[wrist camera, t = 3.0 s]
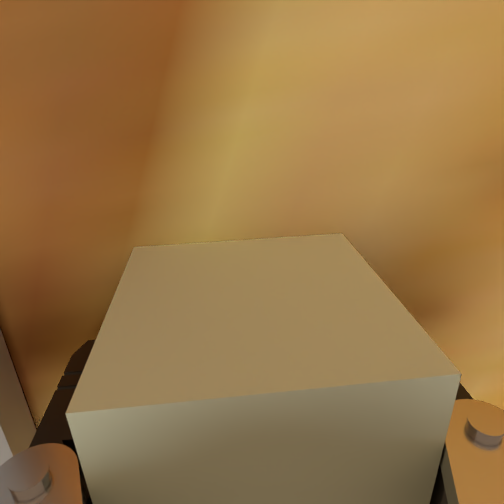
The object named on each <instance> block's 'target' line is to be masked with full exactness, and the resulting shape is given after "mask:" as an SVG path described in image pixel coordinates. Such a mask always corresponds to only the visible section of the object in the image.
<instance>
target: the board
mask: <svg viewBox="0 0 504 504" xmlns="http://www.w3.org/2000/svg"><path fill="white" fill-rule="evenodd" d="M35 433H36V428H35V425H34V422H33V419H32V416H31V414H30V411H29V408H28V405H27V402H26V400H25V397H24V394H23V391H22V388H21V385H20V383H19V380H18V377H17V374H16V371H15V369H14V366H13V363H12V360H11V357H10V355H9V352H8V349H7V346H6V343H5V340H4V338H3V335H2V332H1V329H0V466H1V465H2V464H3V463H5V462H6V461H7V460H8V459H10V458H11V457H13V456H14V455H16V454H18V453H20V452H21V451H23V450H26V449H28V448H29V446H30V444H31V442H32V440H33V437H34V435H35Z"/></svg>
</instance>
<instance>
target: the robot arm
mask: <svg viewBox="0 0 504 504" xmlns="http://www.w3.org/2000/svg"><path fill="white" fill-rule="evenodd" d="M94 343H95V340H88V341H87V342H86V343H85V344H84V345H82V346H81V347H80V348H79V349H78V350H77V351H76V352H75V353H74V354H73V355H72V357H71V359H70V361H69V363H68V365H67V367H66V369H65V372H64V376H62V378H61V380H60V382H59V384H58V386H57V387H58V389H57V390H56V391H55V393H54V395H53V397H52V399H51V401H50V403H49V406H48V408H47V410H46V412H45V414H44V416H43V418H42V420H41V423H40V425H39V427H38V429H37V431H36V433H35V435H34V437H33V440H32V442H31V444H30V446H29V448H28V449H26V450H23V451H21V452H20V453H18V454H16V455H14V456H13V457H11V458H10V459H8V460H7V461H6V462H5V463H3V464H2V465H1V466H0V504H93V503H92V500H91V497H90V493H89V490H88V487H87V483H86V480H85V477H84V473H83V470H82V467H81V463H80V460H79V457H78V454H77V450H76V447H75V444H74V440H73V437H72V434H71V430H70V427H69V424H68V420H67V417H66V414H65V413H66V411H67V409H68V406H69V404H70V401H71V399H72V396H73V394H74V391H75V389H76V387H77V384H78V382H79V379H80V377H81V374H82V372H83V370H84V367H85V365H86V362H87V360H88V357H89V355H90V353H91V350H92V348H93V345H94ZM430 504H504V410H502V409H500V408H498V407H496V406H494V405H492V404H489V403H486V402H483V401H479V400H474V399H473V398H472V397H471V396H470V394H469V393H468V392H467V391H466V390H465V388H464V387H463V386H462V385H461V383H460V382H459V386H458V390H457V395H456V399H455V403H454V407H453V411H452V415H451V419H450V423H449V427H448V431H447V435H446V439H445V443H444V447H443V451H442V455H441V459H440V463H439V467H438V471H437V475H436V480H435V484H434V488H433V492H432V496H431V500H430Z"/></svg>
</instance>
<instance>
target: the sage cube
mask: <svg viewBox="0 0 504 504" xmlns="http://www.w3.org/2000/svg"><path fill="white" fill-rule="evenodd" d="M460 378H461V373H460V371H459V370H458V369H457V368H456V367H455V365H454V364H453V363H452V362H451V361H450V360H449V358H448V357H447V356H446V355H445V354H444V353H443V351H442V350H441V349H440V348H439V347H438V345H437V344H436V343H435V342H434V341H433V340H432V338H431V337H430V336H429V335H428V334H427V333H426V331H425V330H424V329H423V328H422V327H421V325H420V324H419V323H418V322H417V321H416V320H415V318H414V317H413V316H412V315H411V314H410V313H409V311H408V310H407V309H406V308H405V307H404V305H403V304H402V303H401V302H400V301H399V300H398V298H397V297H396V296H395V295H394V294H393V292H392V291H391V290H390V289H389V288H388V287H387V285H386V284H385V283H384V282H383V281H382V280H381V278H380V277H379V276H378V275H377V274H376V272H375V271H374V270H373V269H372V268H371V267H370V265H369V264H368V263H367V262H366V261H365V260H364V258H363V257H362V256H361V255H360V254H359V252H358V251H357V250H356V249H355V248H354V247H353V245H352V244H351V243H350V242H349V241H348V239H347V238H346V237H345V236H344V235H343V234H342V233H335V234H320V235H305V236H290V237H275V238H260V239H245V240H230V241H215V242H200V243H185V244H170V245H155V246H140V247H134V248H133V250H132V253H131V255H130V258H129V260H128V263H127V265H126V267H125V270H124V272H123V275H122V277H121V280H120V282H119V284H118V287H117V289H116V292H115V294H114V297H113V299H112V302H111V304H110V306H109V309H108V311H107V314H106V316H105V319H104V321H103V323H102V326H101V328H100V331H99V333H98V336H97V338H96V340H95V343H94V345H93V348H92V350H91V353H90V355H89V357H88V360H87V362H86V365H85V367H84V370H83V372H82V374H81V377H80V379H79V382H78V384H77V387H76V389H75V391H74V394H73V396H72V399H71V401H70V404H69V406H68V409H67V411H66V413H65V414H66V417H67V420H68V424H69V427H70V430H71V434H72V437H73V440H74V444H75V447H76V450H77V454H78V457H79V460H80V463H81V467H82V470H83V473H84V477H85V480H86V483H87V487H88V490H89V493H90V497H91V500H92V503H93V504H430V500H431V496H432V492H433V488H434V484H435V480H436V475H437V471H438V467H439V463H440V459H441V455H442V451H443V447H444V443H445V439H446V435H447V431H448V427H449V423H450V419H451V415H452V411H453V407H454V403H455V399H456V395H457V390H458V386H459V382H460Z"/></svg>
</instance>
